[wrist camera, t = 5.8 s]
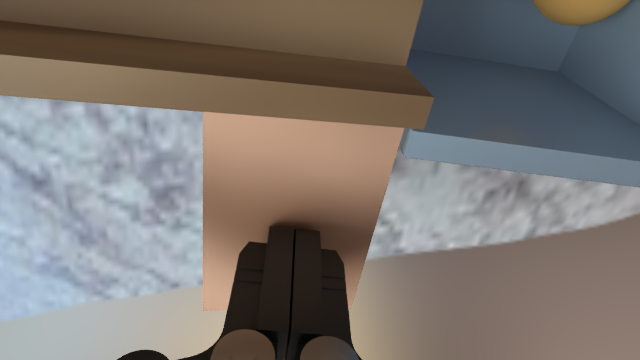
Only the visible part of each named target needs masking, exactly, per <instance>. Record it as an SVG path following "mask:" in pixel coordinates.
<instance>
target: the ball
mask: <svg viewBox="0 0 640 360" xmlns="http://www.w3.org/2000/svg"><path fill="white" fill-rule="evenodd" d="M629 1H630V0H533V2H534V4H535V6H536V7H537V8H538V10H539V11H540V12H541V13H542V14H543V15H544V16H545V17H547V18H548V19H550V20H552V21H554V22H556V23H559V24H563V25H569V26H580V25H587V24H592V23H595V22H598V21H601V20H603V19H605V18H607V17H609V16H611V15H613V14H614V13H616V12H617V11H619V10H620V9H621V8H623V7H624V6H625V5H626V4H627V3H628V2H629Z"/></svg>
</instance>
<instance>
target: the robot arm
mask: <svg viewBox="0 0 640 360" xmlns="http://www.w3.org/2000/svg"><path fill="white" fill-rule="evenodd" d="M293 237H294V240H293ZM346 291H347V290H346V281H345V269H344V263H343V261H342V260H341V258H340V256H339V255H338V253H337V251H336V250H329V249H321V238H320V231H315V230H306V229H297V228H296V229H295V234H294V228H287V227H278V226H269V233H268V241H267V243H260V242H251V241H249V242H248V243H247V245H246V246H245V247H244V248H243V249H242V251H241V252H240V253H239V257H238V262H237V266H236V271H235V276H234V281H233V285H232V290H231V295H230V300H229V305H228V309H227V314H226V319H225V324H224V328H223V332H222V334H221V336H220V338H219V339H218V340H217V342H216V343H215V344H214V345H213V346H211V347H210V348H209V349H208V350H206V351H204V352H202V353H200V354H198V355H195V356H191V357H188V358H183V359H178V360H362V359H361V358H360V357H359V355H358V354H357V353H356V351H355V349H354V347H353V344H352V340H351V332H350V322H349V311H348V300H347V293H346ZM117 360H169V359H168V358H167V357H166V356H164V355H163V354H161V353H159V352H156V351H153V350H139V351H135V352H131V353H128V354H126V355H124V356H122V357H121V358H119V359H117Z"/></svg>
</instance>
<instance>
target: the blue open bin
mask: <svg viewBox="0 0 640 360" xmlns="http://www.w3.org/2000/svg"><path fill="white" fill-rule="evenodd" d="M406 67H407V68H408V69H409V70H410V71H411V72H412V74H413V75H414V76H415V77H416V78H417V79H418V80H419V81H420V82H421V83H422V84H423V85H424V87H425V88H426V89H427V90H428V91H429V92H430V93H431V94H432V95H433V96H434V100H433V103H432V106H431V109H430V113H429V116H428V119H427V122H426V125H425V128H424V130H423V129H411V128H404V131H403V134H402V138H401V141H400V147H401V150H402V153H403V155H404V157H405V158H413V159H421V160H429V161H437V162H444V163H452V164H460V165H468V166H476V167H484V168H492V169H499V170H507V171H515V172H523V173H531V174H539V175H547V176H554V177H562V178H570V179H578V180H586V181H594V182H602V183H609V184H617V185H625V186H633V187H640V0H630V1H629V2H628V3H627V4H626V5H625V6H624V7H623V8H621V9H620V10H619V11H617V12H616V13H614V14H613V15H611V16H609V17H607V18H605V19H603V20H601V21H598V22H595V23H592V24H587V25H580V26H569V25H563V24H559V23H556V22H554V21H552V20H550V19H548V18H547V17H545V16H544V15H543V14H542V13H541V12H540V11H539V10H538V8H537V7H536V6H535V4H534V2H533V0H424V1H423V5H422V8H421V12H420V16H419V19H418V23H417V27H416V30H415V34H414V38H413V41H412V45H411V49H410V52H409V56H408V60H407V63H406Z"/></svg>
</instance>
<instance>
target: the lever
mask: <svg viewBox="0 0 640 360" xmlns="http://www.w3.org/2000/svg"><path fill="white" fill-rule="evenodd" d="M423 1H424V0H0V95H4V96H16V97H28V98H41V99H53V100H65V101H78V102H90V103H102V104H115V105H127V106H139V107H152V108H164V109H176V110H189V111H201V112H203V311H205V310H206V311H207V310H227V309H228V305H229V300H230V295H231V290H232V285H233V281H234V276H235V271H236V266H237V262H238V257H239V253H240V252H241V251H242V249H243V248H244V247H245V246H246V245H247V243H248V242H249V241H251V242H260V243H267V241H268V233H269V226H278V227H287V228H294V234H295V229H296V228H297V229H306V230H315V231H320V238H321V249H329V250H336V251H337V253H338V255H339V256H340V258H341V260H342V261H343V263H344V269H345V281H346V290H347V291H346V293H347V300H348V309H351V306H352V303H353V300H354V297H355V293H356V290H357V286H358V283H359V280H360V276H361V273H362V269H363V266H364V263H365V259H366V256H367V253H368V249H369V246H370V243H371V239H372V236H373V232H374V229H375V226H376V222H377V219H378V216H379V212H380V209H381V205H382V202H383V199H384V195H385V192H386V188H387V185H388V182H389V178H390V175H391V172H392V168H393V165H394V161H395V158H396V155H397V151H398V148H399V145H400V141H401V138H402V134H403V131H404V128H411V129H423V130H424V128H425V125H426V122H427V119H428V116H429V113H430V109H431V106H432V103H433V100H434V96H433V95H432V94H431V93H430V92H429V91H428V90H427V89H426V88H425V87H424V85H423V84H422V83H421V82H420V81H419V80H418V79H417V78H416V77H415V76H414V75H413V74H412V72H411V71H410V70H409V69H408V68H407V67H406V63H407V60H408V56H409V52H410V49H411V45H412V41H413V38H414V34H415V30H416V27H417V23H418V19H419V16H420V12H421V8H422V5H423ZM293 240H294V237H293Z"/></svg>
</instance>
